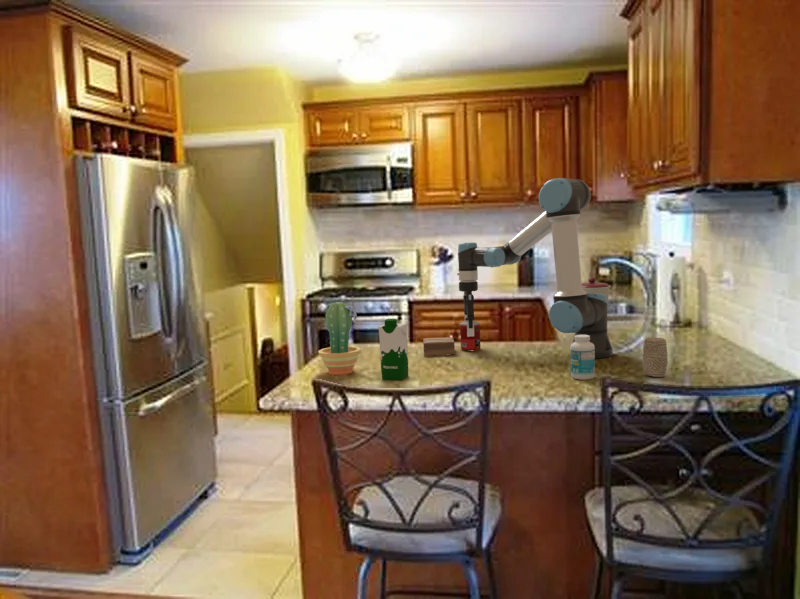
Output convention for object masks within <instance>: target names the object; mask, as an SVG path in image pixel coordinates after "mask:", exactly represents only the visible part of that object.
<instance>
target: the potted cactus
mask: <svg viewBox="0 0 800 599" xmlns="http://www.w3.org/2000/svg"><path fill="white" fill-rule="evenodd" d="M357 317H358V316H357V313H356V311H355V309H354V307H353V306H352V305H350V304H349V305H348V304H346V303H345V302H342V301H340V302H337V301H335V303H334V302H331V305H330V306H329V308H328V309H327V310H326V313H325V322H326V328H327V330H328V333H329V344H330V346H329V347H325V348H321V349H319V350H318V355H319V357H320V358H321V359H322V362H323V364H324V365H325V367H326V368H327V371H328V372H327V373H328V374H329V375H332V376H333V375H335V376H336V375H338V376H339V375H349V374H351V373H353V372H354V369H353V368H354V367H355V365H356V364H357V362H358V358H359V355H360V354H361V353H362V349H361V348H360V347H358V346H353V345H352V346H349V340H350V332H351V329H352V325H353V323H355V322H356V320H357Z"/></svg>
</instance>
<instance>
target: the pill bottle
mask: <svg viewBox="0 0 800 599" xmlns="http://www.w3.org/2000/svg"><path fill="white" fill-rule="evenodd" d="M574 336H575V342H574V343H571V344H570V347H569V348H570V350H569V351H570V352H569V353H571V355H570V376H571V378H572V379H574V380H575V379H576V380H581V381H583V380H585V381H587V380H592V379H594V378H595V376H596V361H595V360H596V358H595V346H594V344H593V343H591V342H589V341H590V336H589V335H575V334H574Z"/></svg>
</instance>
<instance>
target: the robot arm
mask: <svg viewBox="0 0 800 599" xmlns="http://www.w3.org/2000/svg"><path fill="white" fill-rule="evenodd" d="M591 198H592V193H591V189H590V187H589V185H588V184H587V183H586V182H585V181H583V180H582V179H578V178H567V177H566V178H565V177H557V178H551V179H550V180H549V179H548V180H547V181H546V182H545V183H544V184H543V185H542V186H541V188H540V191H539V193H538V202H539V205H540V207H541V208H542V209H543V210H544V211H543V212H542V213H541V214H540V215H539V216H538V217H536V218H534V220H533V221H531V222H530V223H529V224H528V225H526V227H524V228H523V229H522V230H521V231H519V232H518V233H517V234H516V235H515V236H513V237H512V238H510V240H509V241H508V242H506V243H505V244H504V245H502V246H501V245H500V246H490V247H488V246H487V247H479V246H478V244H477V242H470V241H469V242H468V241H467V242H460V243H459V244H458V245H457V246H458V247H457V248H458V249H457V260H458V272H457V273H456V275H457V276H458V281H459V282H458V290H459V292H463V296H462V297H463V312H464V313H463V314H464V318H463V319H464V322H467V337H470V336H474V322H475V310H474V304H475V302H474V301H475V295H474V294H473V292H477V291H478V290H479V289H478V288H479V286H478V285H479V284H478V283H479V282H478V280H479V278H478V274H479V273H478V272H479V271H478V267H482V268H483V267H485V268H486V267H487V268H499V267H501V266H507V265H509V266H511V265H514V264H516V263H517V264H518V263H519V262H520V260H521V258H522V256H523V255H524V254H526V252H527V251H529V250H530V249H531V248H533V247H534V246H535V245H537V243H539V242H540V241H541V240H543V239H544V238H545V237H546V236H548V235H549V234H550V233H552V245H553V258H554V267H555V268H554V269H555V281H556V291H555V293H554V294H553V297H552V298H553V299H552V300H553V303H552V305H551V307H550V308H549V310H548V318H549V321H550V324H551V326H552V327H553V328H554V329H556V330H557V331H558V332H560V333H563V334H574V336H573V339H572V343H574V342H575V335H589V336H590V341H589V342H591V343H593V344H594V346H595V359H604V358H610V357H612V356H614V355H613V354H614V353H613V351H614V348H613V346H612V343H611V341H610V338H609V334H608V307H607V305H608V306H609V302H608V303H607V297H606V295H604V294H594V293H587V292H585V291H584V290H583V289H582V283H583V282H582V272H581V271H582V270H581V260H580V249H579V238H578V237H579V236H578V226H577V223H578V222H577V220H578V219H579V218H580V217H581V212H583V210H584V209H585V208H587V206H588V205H589V203H590V200H591ZM572 343H571V344H572ZM569 353H570V352H569ZM569 355H570V356H571V353H570V354H569Z"/></svg>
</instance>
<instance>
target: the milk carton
mask: <svg viewBox="0 0 800 599" xmlns="http://www.w3.org/2000/svg"><path fill="white" fill-rule="evenodd" d="M397 321H398V320H397V319H396V318H388V319H387V318H386V319H384V323H383V324H382V325H379V326H378V336H379V337H378V338H379V339H378V340H379V354H380V357H379V358H380V370H381V380H382V381H383V380H384V381H388V380H389V381H403V380H404V379H406V378H407V377H409V352H408V323H398V322H397Z"/></svg>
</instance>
